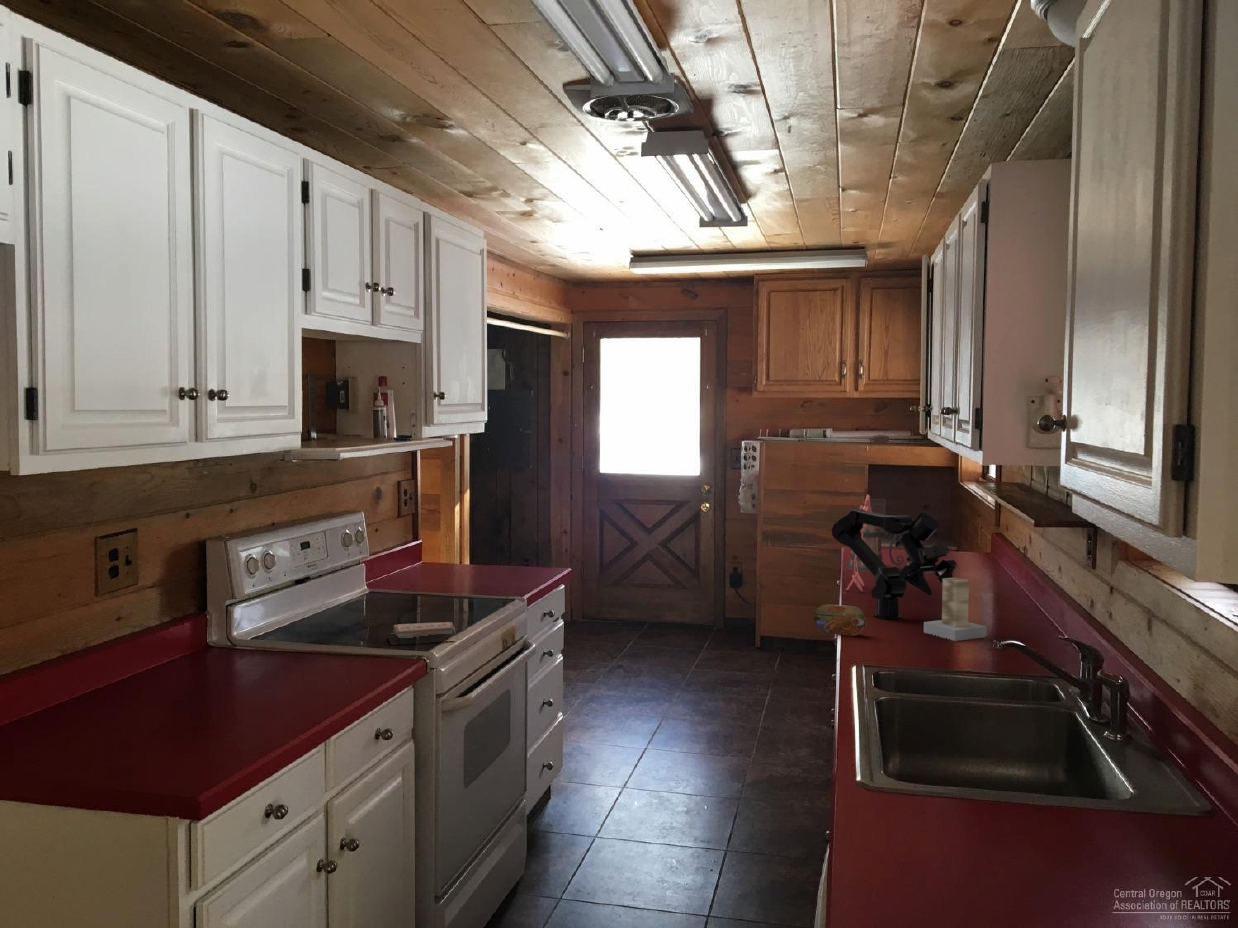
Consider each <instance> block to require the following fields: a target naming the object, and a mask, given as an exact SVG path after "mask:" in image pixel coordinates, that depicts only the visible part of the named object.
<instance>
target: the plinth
mask: <svg viewBox="0 0 1238 928" xmlns="http://www.w3.org/2000/svg"><path fill="white" fill-rule="evenodd" d="M987 632H988V631H987V626H986V625H981V624H977V623H975V622H974V623H973V622H970V621H968V625H966V626H958V627H954V626H950V625H946V624H942V619H941V620H932V621H924V622H923V633H924V634H928V635H931V634H932V635H931V636H935V635H936V636H935V637H938V636H939V638H942V639H946V638H947V639H946V640H949V639H950V640H949V641H953V642H957V641H965V640H967V641H968V640H973V639H974V640H975V639H980V638H986V637H987Z"/></svg>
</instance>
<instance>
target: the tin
mask: <svg viewBox="0 0 1238 928" xmlns="http://www.w3.org/2000/svg"><path fill="white" fill-rule="evenodd" d="M813 622H814V625H815V627H816V629H817V630H818V631H820V632H821V633H823V634H827V635H828V634H829V635H838V636H846V637H847V636H848V637H849V636H850V637H854V636H858V635H860V634H862V633H863V632H864V631H865V630H866V628H867V624H868V617H867V615H866V613H865V612H864V610H863V609H861V608H860V607H858V606H853V605H841V604H840V605H839V604H822V605H820V606H819V607H818V608H817V609H816V610H815V612H814V615H813Z"/></svg>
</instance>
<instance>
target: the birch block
mask: <svg viewBox="0 0 1238 928" xmlns="http://www.w3.org/2000/svg"><path fill="white" fill-rule="evenodd" d="M969 584H970V580H969V579H966V578H960V577H957V576H956V577H955V576H954V577H953V578H944V579H943V584H942V594H941V595H942V596H941V597H942V602H941V603H942V604H941V620H942V624H946V625H950V626H954V627H958V626H966V625H968V622H969V594H970V593H969V592H970V591H969V590H970V589H969V588H970V585H969Z"/></svg>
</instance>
